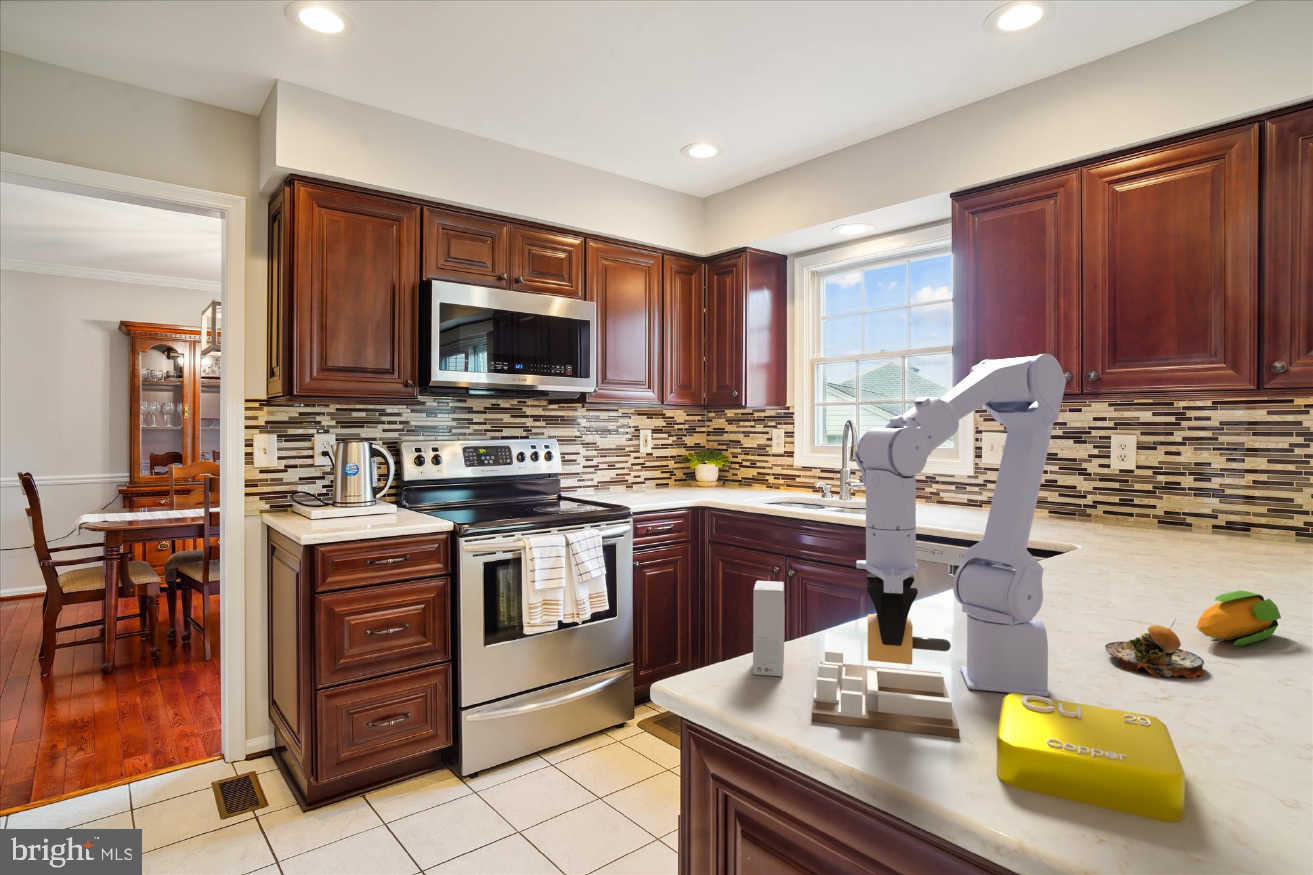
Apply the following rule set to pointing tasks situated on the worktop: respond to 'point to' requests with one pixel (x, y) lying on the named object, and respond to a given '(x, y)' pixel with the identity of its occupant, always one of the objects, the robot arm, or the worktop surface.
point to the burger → (1157, 654)
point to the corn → (1240, 618)
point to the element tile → (1090, 756)
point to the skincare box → (768, 628)
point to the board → (886, 720)
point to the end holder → (907, 702)
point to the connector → (903, 652)
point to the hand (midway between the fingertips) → (891, 638)
